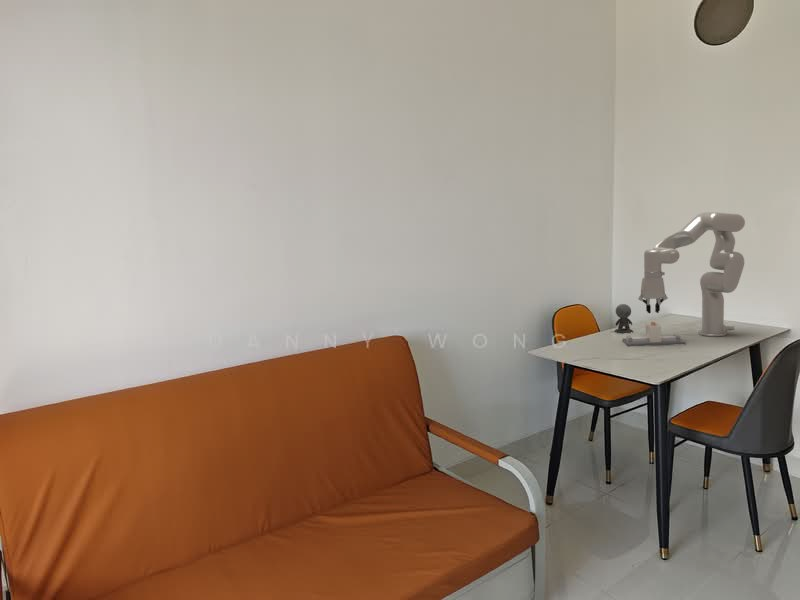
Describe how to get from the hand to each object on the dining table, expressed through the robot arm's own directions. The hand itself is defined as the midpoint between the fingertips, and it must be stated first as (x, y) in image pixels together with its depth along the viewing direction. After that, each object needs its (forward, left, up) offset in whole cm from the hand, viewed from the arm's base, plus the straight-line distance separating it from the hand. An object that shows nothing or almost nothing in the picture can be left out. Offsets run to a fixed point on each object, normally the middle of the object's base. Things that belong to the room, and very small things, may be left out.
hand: (652, 312), depth 268 cm
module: (0, 0, -14) cm, 14 cm away
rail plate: (0, 0, -15) cm, 15 cm away
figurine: (+8, -26, -15) cm, 32 cm away
